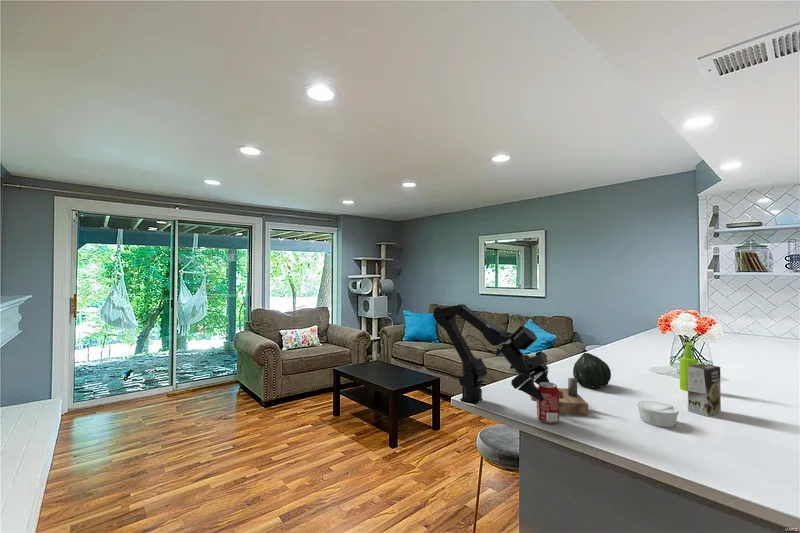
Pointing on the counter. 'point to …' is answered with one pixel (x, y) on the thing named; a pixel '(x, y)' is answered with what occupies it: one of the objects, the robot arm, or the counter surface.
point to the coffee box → (704, 389)
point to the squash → (591, 371)
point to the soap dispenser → (686, 365)
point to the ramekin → (657, 413)
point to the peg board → (571, 400)
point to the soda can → (548, 403)
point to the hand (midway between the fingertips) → (548, 397)
